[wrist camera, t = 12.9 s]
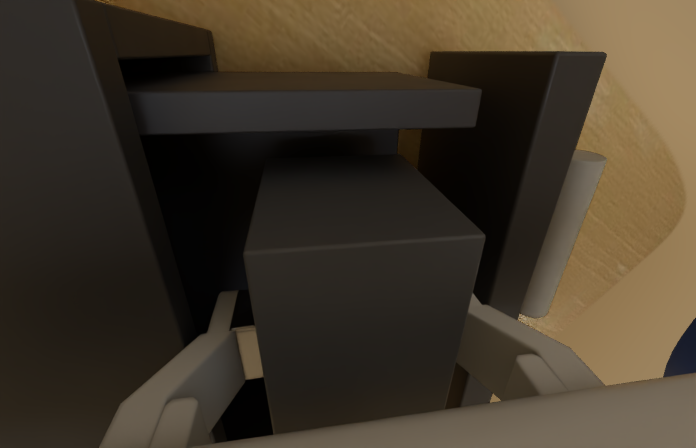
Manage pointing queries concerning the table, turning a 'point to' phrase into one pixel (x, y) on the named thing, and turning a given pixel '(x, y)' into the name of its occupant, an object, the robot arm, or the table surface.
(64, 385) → the dark grey square case
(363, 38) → the table surface
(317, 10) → the table surface
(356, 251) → the dark grey rectangular box
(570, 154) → the drawer
